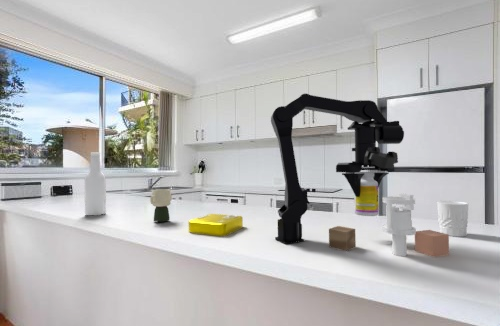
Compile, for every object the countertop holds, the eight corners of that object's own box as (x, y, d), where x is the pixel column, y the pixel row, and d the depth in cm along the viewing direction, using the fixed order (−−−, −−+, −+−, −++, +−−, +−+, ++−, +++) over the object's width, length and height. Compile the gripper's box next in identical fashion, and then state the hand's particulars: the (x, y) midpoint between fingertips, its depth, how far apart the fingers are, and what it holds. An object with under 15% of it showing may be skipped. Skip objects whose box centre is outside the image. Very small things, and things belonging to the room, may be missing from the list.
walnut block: (346, 251, 68) (345, 232, 68) (329, 247, 72) (328, 228, 72) (355, 247, 71) (355, 228, 71) (338, 243, 75) (338, 225, 75)
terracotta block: (433, 257, 63) (433, 236, 63) (415, 250, 68) (414, 231, 68) (449, 254, 64) (448, 234, 64) (429, 248, 69) (429, 229, 69)
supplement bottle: (381, 217, 75) (380, 171, 75) (356, 216, 76) (356, 172, 76) (375, 212, 81) (374, 171, 81) (352, 212, 83) (351, 171, 83)
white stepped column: (403, 260, 61) (401, 195, 61) (377, 251, 67) (376, 193, 67) (423, 256, 63) (421, 194, 64) (396, 248, 70) (395, 191, 70)
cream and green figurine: (165, 218, 114) (165, 188, 115) (177, 219, 111) (177, 189, 111) (144, 223, 105) (144, 191, 105) (157, 225, 101) (157, 191, 102)
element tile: (210, 224, 104) (210, 212, 104) (244, 227, 97) (244, 214, 97) (186, 233, 90) (186, 219, 90) (224, 238, 84) (223, 223, 84)
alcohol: (109, 213, 128) (109, 152, 129) (91, 216, 121) (90, 151, 121) (99, 212, 133) (99, 153, 133) (81, 215, 125) (80, 152, 126)
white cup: (464, 232, 85) (463, 201, 85) (472, 238, 78) (472, 204, 78) (435, 230, 88) (434, 200, 88) (440, 235, 81) (439, 203, 81)
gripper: (365, 140, 68) (366, 201, 67) (411, 142, 76) (412, 196, 76) (334, 144, 78) (335, 197, 77) (377, 145, 86) (378, 193, 86)
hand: (366, 196), depth 79 cm, fingers closed on supplement bottle, 7 cm apart
